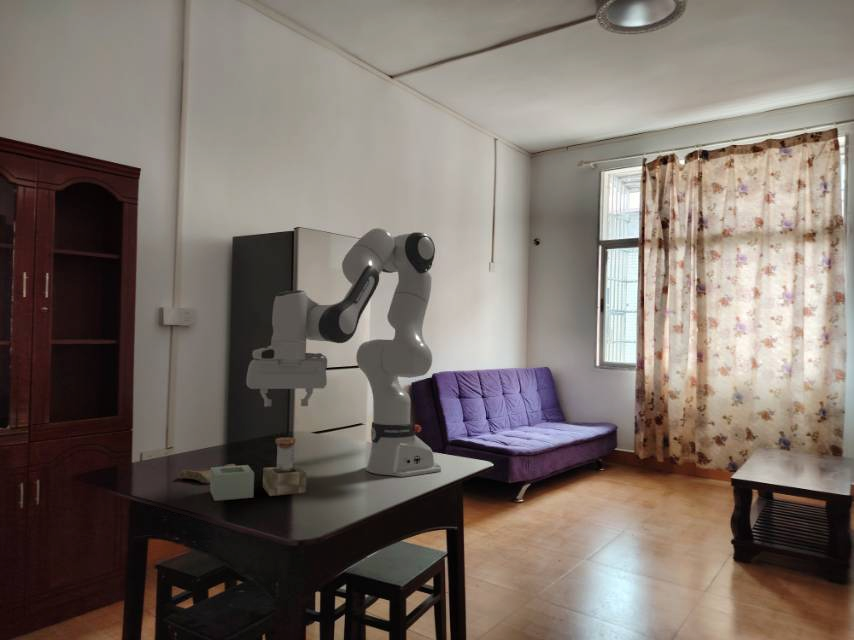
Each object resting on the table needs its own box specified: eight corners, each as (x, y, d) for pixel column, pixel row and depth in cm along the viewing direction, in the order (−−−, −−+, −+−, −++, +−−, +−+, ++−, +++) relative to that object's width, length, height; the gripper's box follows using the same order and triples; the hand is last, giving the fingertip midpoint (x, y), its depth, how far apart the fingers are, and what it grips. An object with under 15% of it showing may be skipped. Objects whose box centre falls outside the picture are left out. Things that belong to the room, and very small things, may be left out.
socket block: (246, 488, 158) (247, 465, 158) (253, 497, 150) (254, 472, 150) (210, 491, 154) (210, 467, 154) (214, 500, 146) (215, 475, 146)
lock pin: (291, 486, 161) (292, 437, 161) (296, 491, 156) (297, 440, 157) (272, 488, 159) (273, 438, 159) (276, 493, 154) (278, 441, 154)
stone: (177, 480, 166) (177, 468, 166) (230, 471, 177) (230, 460, 177) (195, 488, 159) (195, 475, 159) (249, 478, 170) (249, 467, 170)
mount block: (297, 484, 163) (297, 465, 164) (305, 492, 155) (306, 472, 155) (262, 487, 159) (263, 467, 160) (269, 495, 151) (270, 475, 151)
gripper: (324, 352, 166) (322, 404, 165) (246, 351, 157) (244, 405, 156) (331, 353, 160) (328, 406, 159) (250, 352, 151) (248, 408, 151)
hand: (286, 406), depth 158 cm, fingers open, 8 cm apart
